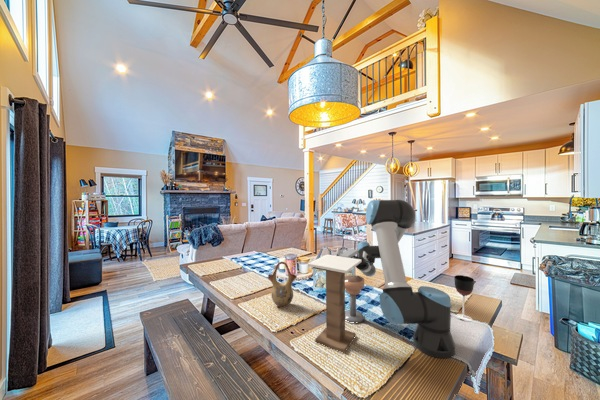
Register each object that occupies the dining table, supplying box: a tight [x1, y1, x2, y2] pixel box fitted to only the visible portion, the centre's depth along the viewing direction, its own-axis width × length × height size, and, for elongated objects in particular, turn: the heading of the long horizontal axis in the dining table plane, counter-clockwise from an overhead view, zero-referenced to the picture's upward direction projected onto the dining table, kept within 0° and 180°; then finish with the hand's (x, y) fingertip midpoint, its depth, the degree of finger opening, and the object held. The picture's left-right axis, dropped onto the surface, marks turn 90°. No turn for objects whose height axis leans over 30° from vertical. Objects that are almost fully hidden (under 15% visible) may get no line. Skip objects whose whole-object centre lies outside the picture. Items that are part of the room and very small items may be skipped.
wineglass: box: [453, 274, 475, 320], centre depth 120 cm, size 8×9×20 cm
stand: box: [312, 267, 357, 354], centre depth 103 cm, size 14×14×33 cm
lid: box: [307, 248, 362, 274], centre depth 108 cm, size 30×17×2 cm, turn 147°
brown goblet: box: [345, 274, 365, 323], centre depth 121 cm, size 11×11×20 cm
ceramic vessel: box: [267, 261, 298, 308], centre depth 135 cm, size 16×9×25 cm, turn 91°
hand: (350, 252), depth 118 cm, fingers open, 13 cm apart
